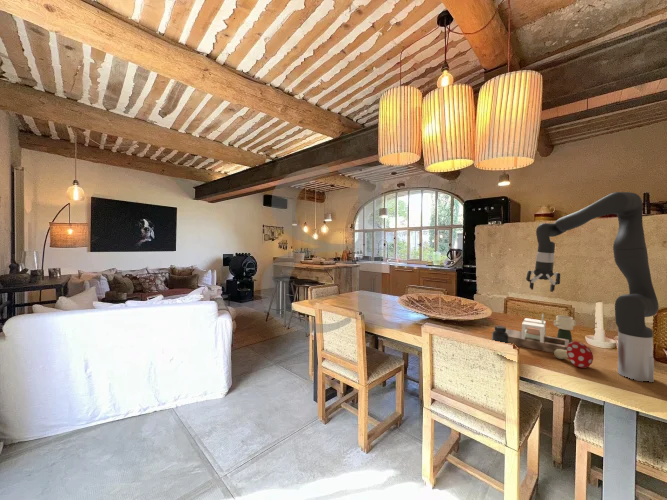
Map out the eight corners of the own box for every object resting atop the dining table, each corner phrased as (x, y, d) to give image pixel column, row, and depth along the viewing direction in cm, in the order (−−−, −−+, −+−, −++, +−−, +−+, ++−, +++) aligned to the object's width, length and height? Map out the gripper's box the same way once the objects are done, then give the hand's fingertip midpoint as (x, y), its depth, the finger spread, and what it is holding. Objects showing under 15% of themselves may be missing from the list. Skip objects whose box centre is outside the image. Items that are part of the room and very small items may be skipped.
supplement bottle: (492, 351, 134) (492, 327, 134) (491, 346, 140) (491, 324, 140) (508, 353, 131) (508, 329, 131) (507, 349, 137) (507, 325, 137)
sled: (543, 336, 143) (544, 312, 142) (542, 340, 137) (542, 315, 136) (525, 333, 148) (525, 310, 148) (523, 337, 142) (523, 313, 142)
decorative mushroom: (547, 337, 129) (579, 336, 115) (567, 349, 129) (601, 349, 115) (543, 358, 125) (576, 360, 111) (563, 371, 125) (599, 374, 111)
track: (568, 347, 138) (569, 339, 138) (568, 356, 128) (568, 347, 128) (505, 335, 157) (505, 328, 157) (500, 342, 146) (500, 334, 146)
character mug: (569, 338, 151) (570, 315, 151) (580, 342, 144) (580, 318, 144) (549, 337, 153) (549, 315, 152) (558, 342, 145) (558, 318, 145)
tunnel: (545, 335, 144) (545, 321, 144) (543, 342, 134) (543, 327, 134) (525, 332, 150) (525, 318, 150) (521, 338, 140) (521, 323, 140)
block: (540, 337, 142) (540, 327, 142) (539, 339, 139) (539, 330, 139) (528, 335, 146) (528, 325, 146) (527, 337, 142) (527, 328, 142)
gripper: (530, 260, 143) (527, 290, 144) (564, 263, 136) (560, 293, 138) (527, 258, 149) (524, 287, 151) (559, 261, 143) (555, 290, 145)
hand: (541, 290), depth 145 cm, fingers open, 8 cm apart
